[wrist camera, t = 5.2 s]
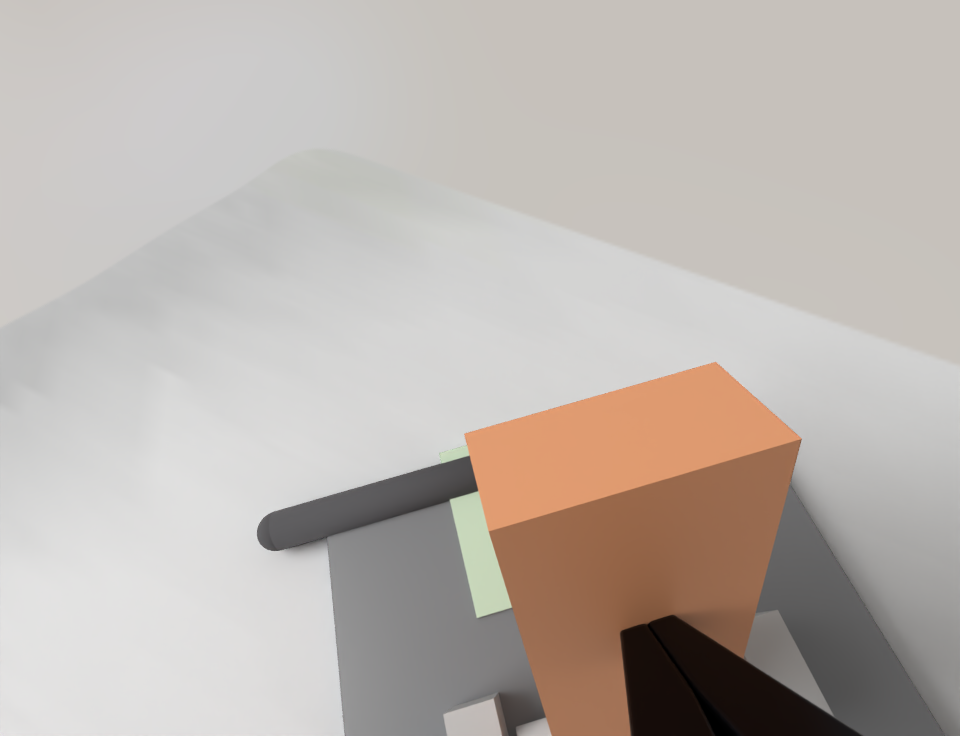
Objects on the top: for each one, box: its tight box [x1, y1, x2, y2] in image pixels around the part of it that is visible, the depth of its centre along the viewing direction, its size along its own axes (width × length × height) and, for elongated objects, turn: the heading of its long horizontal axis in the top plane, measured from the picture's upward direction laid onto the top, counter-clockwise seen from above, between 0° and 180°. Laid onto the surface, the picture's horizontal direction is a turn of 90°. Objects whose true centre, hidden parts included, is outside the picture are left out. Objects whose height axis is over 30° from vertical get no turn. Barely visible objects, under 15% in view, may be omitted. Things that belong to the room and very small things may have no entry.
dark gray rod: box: [257, 455, 478, 551], centre depth 15 cm, size 11×1×1 cm, turn 105°
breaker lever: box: [464, 362, 802, 736], centre depth 9 cm, size 2×5×10 cm, turn 105°
